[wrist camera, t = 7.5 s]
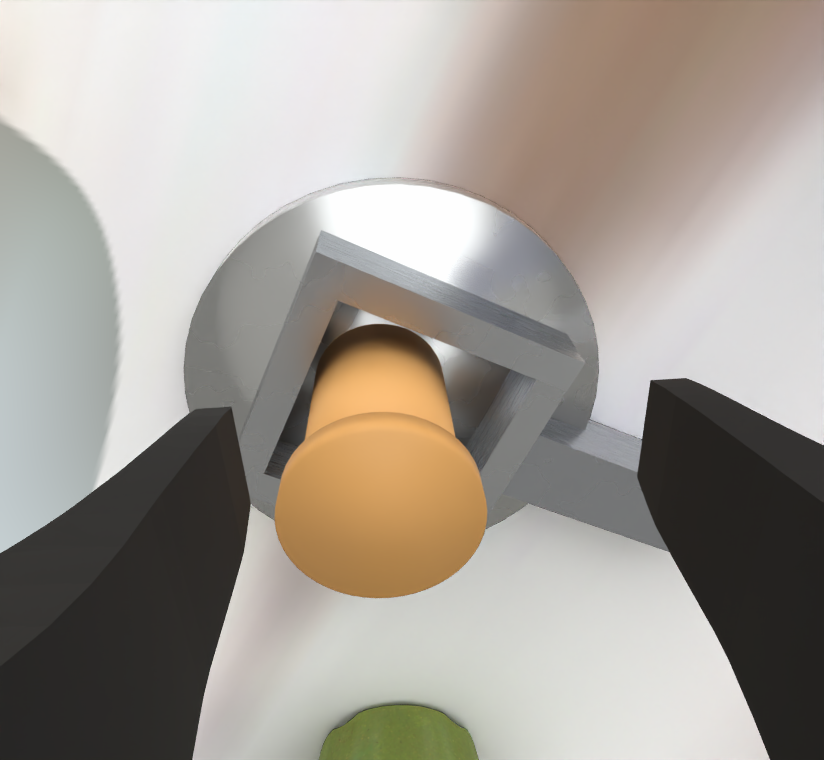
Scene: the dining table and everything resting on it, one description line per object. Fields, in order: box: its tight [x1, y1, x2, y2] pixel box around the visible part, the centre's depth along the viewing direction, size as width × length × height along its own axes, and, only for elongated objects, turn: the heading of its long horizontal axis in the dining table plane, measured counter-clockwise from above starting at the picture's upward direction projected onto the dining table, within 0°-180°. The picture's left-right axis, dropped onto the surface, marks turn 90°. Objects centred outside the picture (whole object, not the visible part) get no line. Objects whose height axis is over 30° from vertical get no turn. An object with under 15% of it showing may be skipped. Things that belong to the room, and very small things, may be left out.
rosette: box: [184, 177, 669, 552], centre depth 21 cm, size 20×13×3 cm, turn 66°
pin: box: [275, 324, 487, 598], centre depth 18 cm, size 5×5×7 cm
